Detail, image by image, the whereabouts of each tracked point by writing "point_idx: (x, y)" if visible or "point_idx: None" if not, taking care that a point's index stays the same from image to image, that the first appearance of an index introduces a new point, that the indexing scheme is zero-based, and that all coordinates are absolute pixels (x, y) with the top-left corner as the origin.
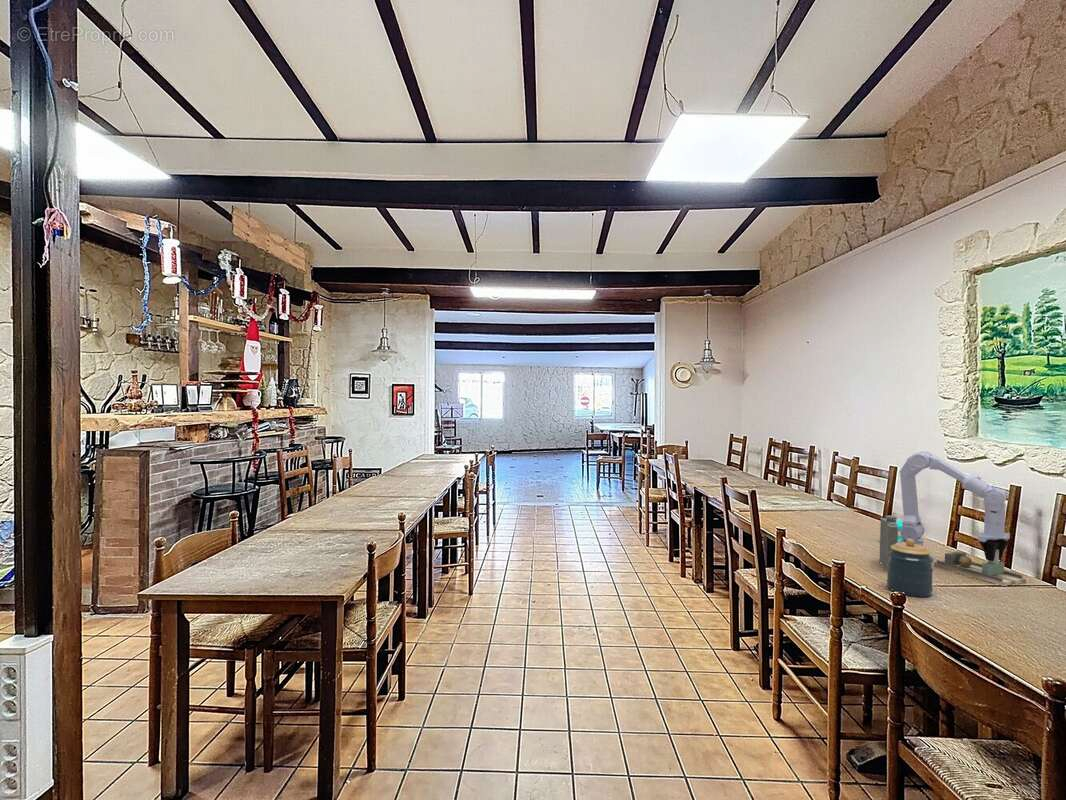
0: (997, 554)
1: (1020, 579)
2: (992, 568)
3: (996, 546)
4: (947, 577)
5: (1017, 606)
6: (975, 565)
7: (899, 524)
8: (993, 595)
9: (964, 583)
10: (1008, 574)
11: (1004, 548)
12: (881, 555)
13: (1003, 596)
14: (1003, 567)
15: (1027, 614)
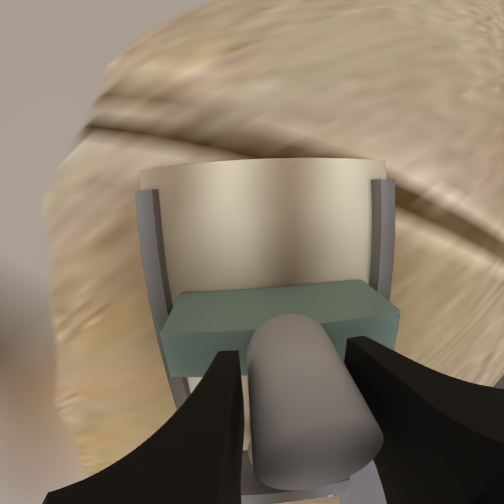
0: (329, 378)
1: (191, 169)
2: (334, 303)
3: (493, 419)
4: (450, 343)
5: (493, 49)
6: None
7: None
8: (495, 127)
9: (473, 267)
10: (166, 271)
11: (171, 445)
12: None
13: (477, 101)
14: (180, 312)
15: (500, 27)
